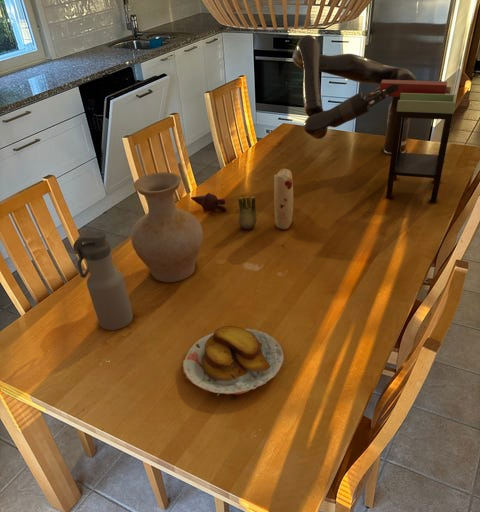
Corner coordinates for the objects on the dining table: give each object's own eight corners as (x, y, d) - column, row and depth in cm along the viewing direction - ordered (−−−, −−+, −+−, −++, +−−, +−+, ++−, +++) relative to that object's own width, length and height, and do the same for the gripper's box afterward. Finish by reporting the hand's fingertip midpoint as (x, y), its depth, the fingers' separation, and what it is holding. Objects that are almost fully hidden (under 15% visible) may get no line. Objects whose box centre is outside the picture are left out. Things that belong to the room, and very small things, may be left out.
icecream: (184, 197, 191) (220, 205, 186) (193, 184, 194) (229, 192, 190) (188, 210, 196) (222, 219, 192) (196, 198, 200) (231, 206, 195)
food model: (293, 231, 178) (293, 177, 165) (274, 232, 179) (273, 178, 166) (293, 218, 186) (293, 165, 173) (274, 218, 186) (273, 166, 174)
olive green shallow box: (399, 103, 179) (400, 92, 177) (454, 105, 173) (456, 94, 171) (396, 111, 172) (397, 100, 170) (453, 113, 167) (455, 102, 165)
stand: (391, 177, 206) (402, 94, 186) (438, 181, 201) (454, 96, 181) (385, 198, 193) (396, 111, 172) (435, 203, 187) (453, 113, 167)
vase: (133, 260, 170) (113, 175, 151) (196, 245, 175) (184, 161, 156) (146, 296, 154) (125, 205, 135) (215, 279, 159) (204, 189, 140)
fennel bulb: (258, 226, 183) (256, 195, 175) (252, 232, 179) (250, 201, 172) (243, 223, 185) (241, 193, 177) (237, 230, 181) (235, 199, 174)
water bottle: (92, 330, 143) (64, 244, 125) (104, 309, 150) (79, 224, 133) (127, 332, 141) (103, 244, 124) (137, 310, 149) (116, 225, 131)
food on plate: (173, 398, 121) (168, 379, 117) (195, 330, 140) (192, 312, 136) (280, 405, 117) (279, 385, 113) (288, 334, 136) (287, 315, 132)
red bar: (380, 92, 185) (382, 79, 183) (449, 95, 178) (452, 81, 176) (379, 96, 182) (380, 82, 179) (449, 98, 175) (451, 85, 173)
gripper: (346, 104, 183) (391, 79, 173) (353, 92, 193) (396, 68, 183) (355, 122, 186) (400, 100, 176) (361, 110, 196) (404, 88, 186)
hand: (398, 84), depth 180 cm, fingers closed on red bar, 4 cm apart
